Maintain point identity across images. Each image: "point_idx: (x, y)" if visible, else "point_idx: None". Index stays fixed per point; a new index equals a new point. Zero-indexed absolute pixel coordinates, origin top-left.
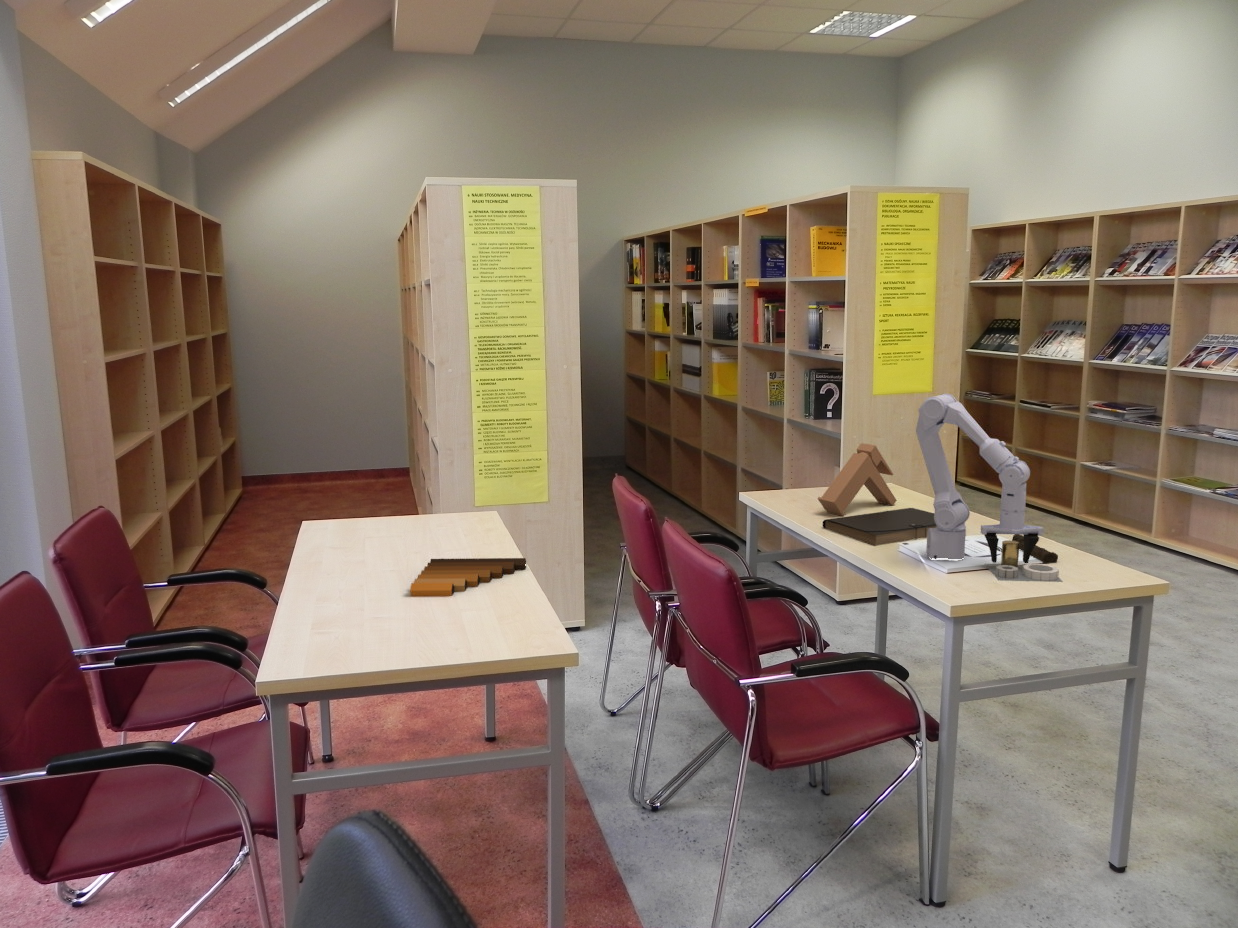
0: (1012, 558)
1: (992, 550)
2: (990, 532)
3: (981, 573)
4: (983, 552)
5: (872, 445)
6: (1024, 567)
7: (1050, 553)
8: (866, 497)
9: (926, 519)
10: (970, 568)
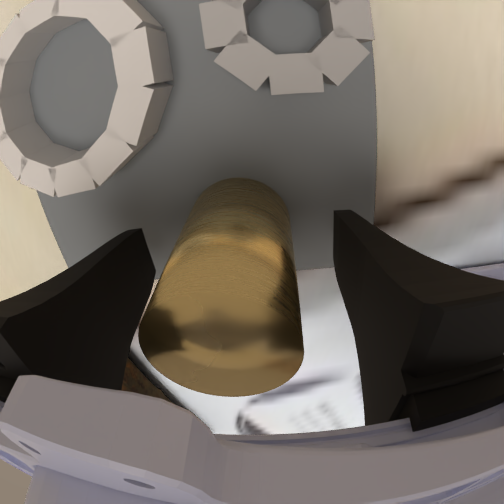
0: (219, 211)
1: (401, 245)
2: (465, 418)
3: (408, 145)
4: (299, 408)
5: None
6: (145, 60)
7: None
8: None
9: None
10: (431, 231)
